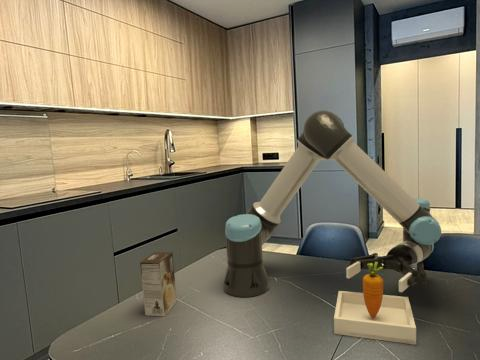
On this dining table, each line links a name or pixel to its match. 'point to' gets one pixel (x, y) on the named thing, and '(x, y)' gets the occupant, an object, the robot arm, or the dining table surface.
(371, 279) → the carrot
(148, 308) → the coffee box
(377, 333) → the tray
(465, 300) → the dining table surface
